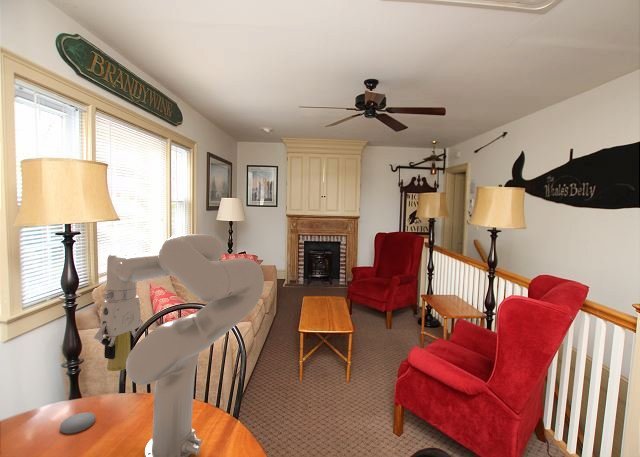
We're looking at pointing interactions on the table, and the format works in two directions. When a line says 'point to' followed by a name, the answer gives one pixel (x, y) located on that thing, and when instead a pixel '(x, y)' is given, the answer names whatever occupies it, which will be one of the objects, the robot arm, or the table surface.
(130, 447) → the table surface
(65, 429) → the coaster
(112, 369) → the vase
